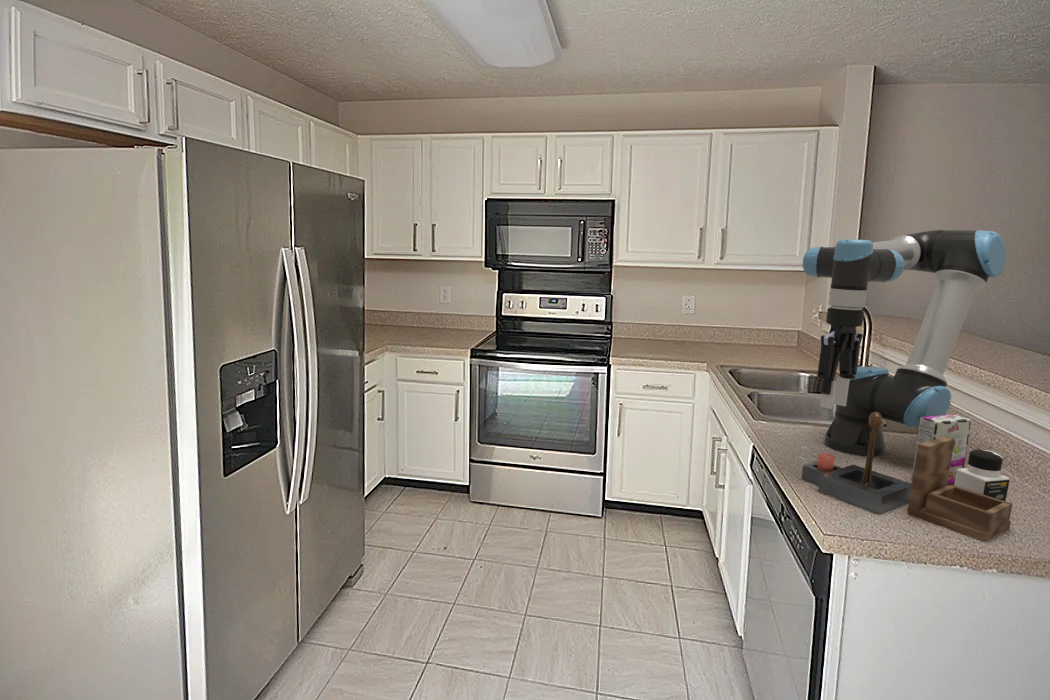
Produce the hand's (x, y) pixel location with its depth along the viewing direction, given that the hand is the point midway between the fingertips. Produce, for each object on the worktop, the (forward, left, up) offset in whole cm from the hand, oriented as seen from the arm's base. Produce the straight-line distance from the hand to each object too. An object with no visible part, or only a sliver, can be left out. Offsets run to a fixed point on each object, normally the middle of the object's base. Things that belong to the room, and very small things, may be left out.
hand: (833, 405), depth 149 cm
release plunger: (0, 0, -17) cm, 17 cm away
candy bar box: (-25, +14, -19) cm, 34 cm away
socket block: (0, +7, -19) cm, 20 cm away
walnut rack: (-5, +27, -19) cm, 33 cm away
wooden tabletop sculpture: (0, +10, -19) cm, 21 cm away
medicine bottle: (-20, +25, -19) cm, 37 cm away
